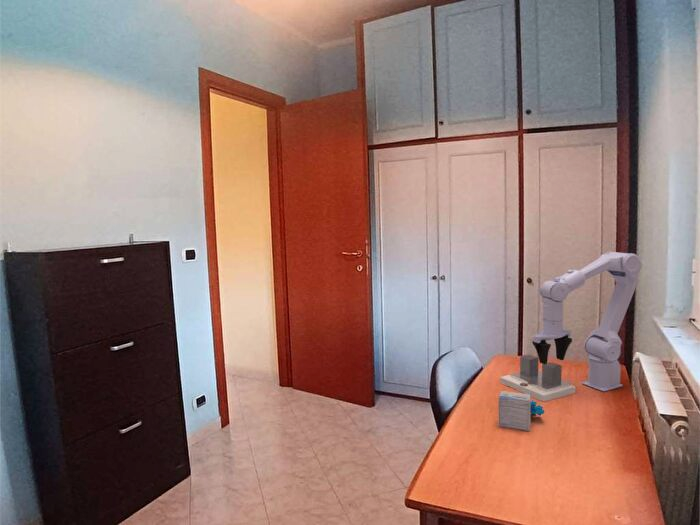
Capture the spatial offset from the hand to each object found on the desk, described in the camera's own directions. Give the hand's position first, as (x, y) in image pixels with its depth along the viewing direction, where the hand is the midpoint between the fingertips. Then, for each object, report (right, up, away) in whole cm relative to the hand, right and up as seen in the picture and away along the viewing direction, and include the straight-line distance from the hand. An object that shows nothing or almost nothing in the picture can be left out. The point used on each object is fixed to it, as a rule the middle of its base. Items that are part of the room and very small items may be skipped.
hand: (551, 361), depth 145 cm
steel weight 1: (-4, -6, +9) cm, 11 cm away
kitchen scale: (-3, -10, +4) cm, 11 cm away
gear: (-15, -12, -16) cm, 25 cm away
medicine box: (-19, -13, -21) cm, 32 cm away
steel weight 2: (0, -7, +1) cm, 7 cm away
